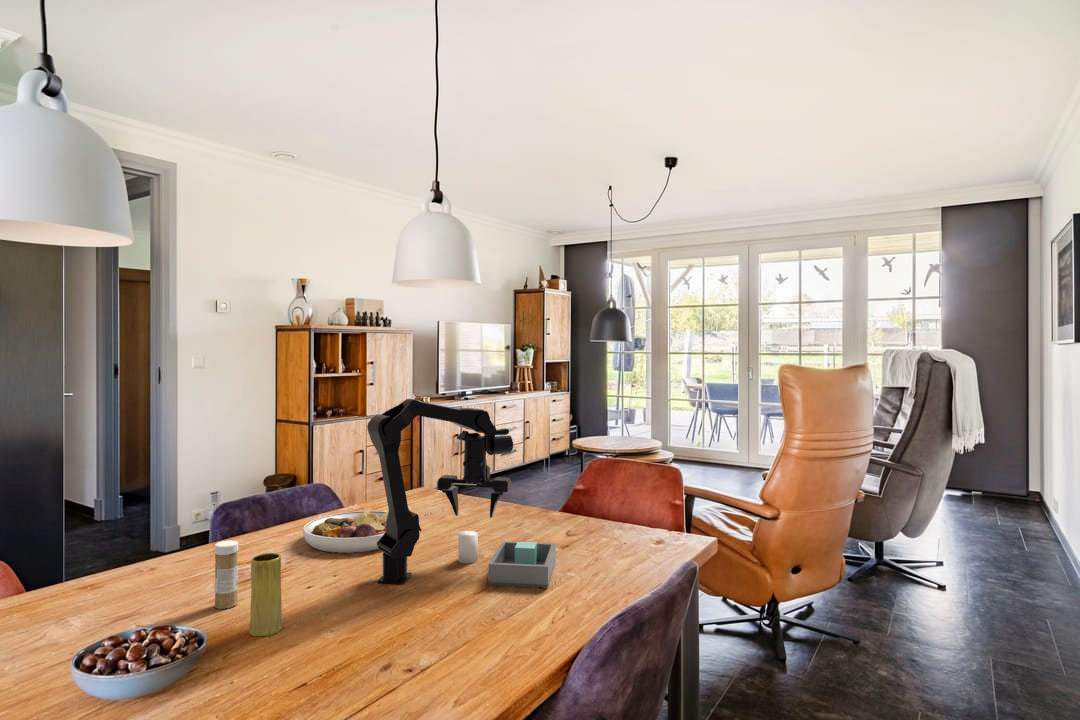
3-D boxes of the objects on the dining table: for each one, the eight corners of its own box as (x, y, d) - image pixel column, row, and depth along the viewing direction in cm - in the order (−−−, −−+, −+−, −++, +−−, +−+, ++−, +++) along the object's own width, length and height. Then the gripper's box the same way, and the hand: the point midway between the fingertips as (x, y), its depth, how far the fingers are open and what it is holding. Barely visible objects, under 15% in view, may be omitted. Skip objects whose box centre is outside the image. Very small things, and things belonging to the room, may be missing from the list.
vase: (245, 639, 117) (246, 563, 117) (251, 625, 123) (252, 553, 123) (280, 635, 118) (280, 560, 118) (284, 622, 124) (285, 551, 124)
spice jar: (219, 601, 134) (219, 539, 134) (241, 601, 135) (241, 539, 135) (210, 610, 130) (210, 546, 130) (233, 609, 130) (233, 545, 130)
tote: (548, 588, 143) (548, 566, 143) (488, 585, 145) (488, 564, 145) (555, 562, 161) (555, 543, 161) (502, 560, 163) (502, 541, 163)
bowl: (297, 533, 187) (297, 507, 187) (396, 522, 201) (396, 497, 201) (310, 563, 161) (310, 533, 161) (423, 547, 174) (423, 519, 174)
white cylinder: (475, 563, 160) (475, 536, 160) (456, 563, 160) (456, 536, 160) (479, 557, 165) (479, 531, 165) (460, 556, 165) (461, 530, 165)
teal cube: (536, 562, 159) (537, 542, 159) (534, 568, 154) (534, 548, 154) (517, 561, 160) (517, 541, 160) (514, 567, 155) (514, 547, 155)
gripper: (515, 453, 168) (514, 511, 168) (449, 451, 171) (448, 507, 171) (507, 459, 157) (506, 521, 157) (436, 457, 160) (435, 517, 160)
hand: (474, 516), depth 162 cm, fingers open, 9 cm apart
